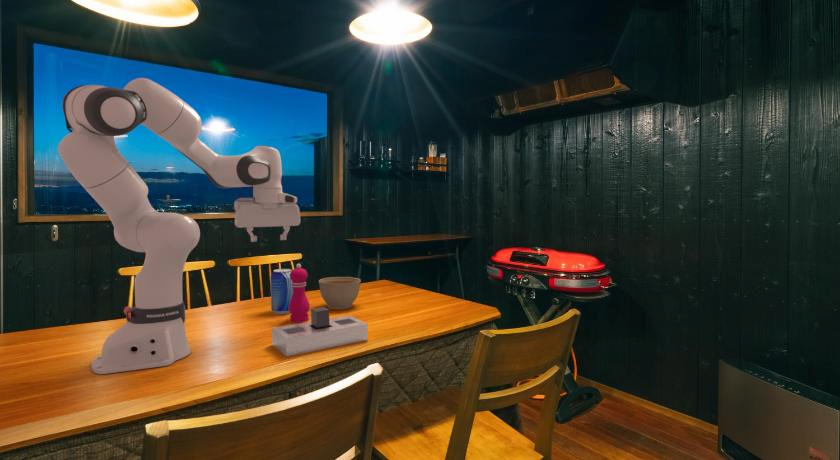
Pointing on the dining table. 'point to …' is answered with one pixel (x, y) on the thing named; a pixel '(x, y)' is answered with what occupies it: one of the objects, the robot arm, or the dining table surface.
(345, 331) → the white slotted block holder
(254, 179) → the robot arm
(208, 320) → the dining table surface
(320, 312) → the steel block
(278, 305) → the beer can
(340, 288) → the planter bowl
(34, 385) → the dining table surface
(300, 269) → the pepper mill
